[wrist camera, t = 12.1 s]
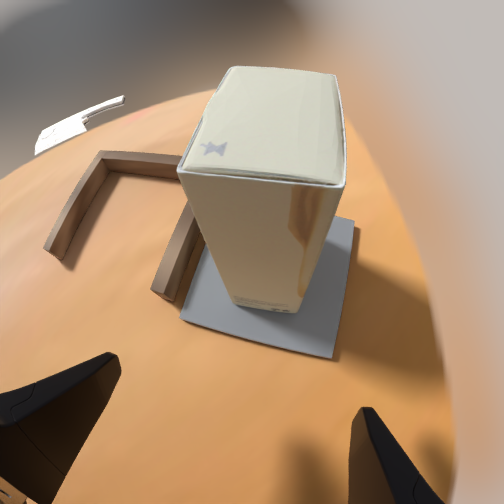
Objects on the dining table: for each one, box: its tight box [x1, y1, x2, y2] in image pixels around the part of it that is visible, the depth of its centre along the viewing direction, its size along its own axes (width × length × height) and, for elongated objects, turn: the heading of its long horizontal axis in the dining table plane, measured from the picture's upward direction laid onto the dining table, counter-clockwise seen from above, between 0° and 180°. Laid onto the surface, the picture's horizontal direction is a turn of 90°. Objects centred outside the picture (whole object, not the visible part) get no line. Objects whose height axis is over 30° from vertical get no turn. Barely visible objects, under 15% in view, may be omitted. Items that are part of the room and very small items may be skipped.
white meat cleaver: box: [35, 95, 125, 155], centre depth 29 cm, size 5×15×1 cm, turn 99°
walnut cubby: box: [43, 150, 201, 302], centre depth 21 cm, size 11×13×2 cm
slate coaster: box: [179, 216, 354, 359], centre depth 19 cm, size 10×10×1 cm
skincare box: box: [177, 66, 347, 313], centre depth 13 cm, size 6×4×12 cm
